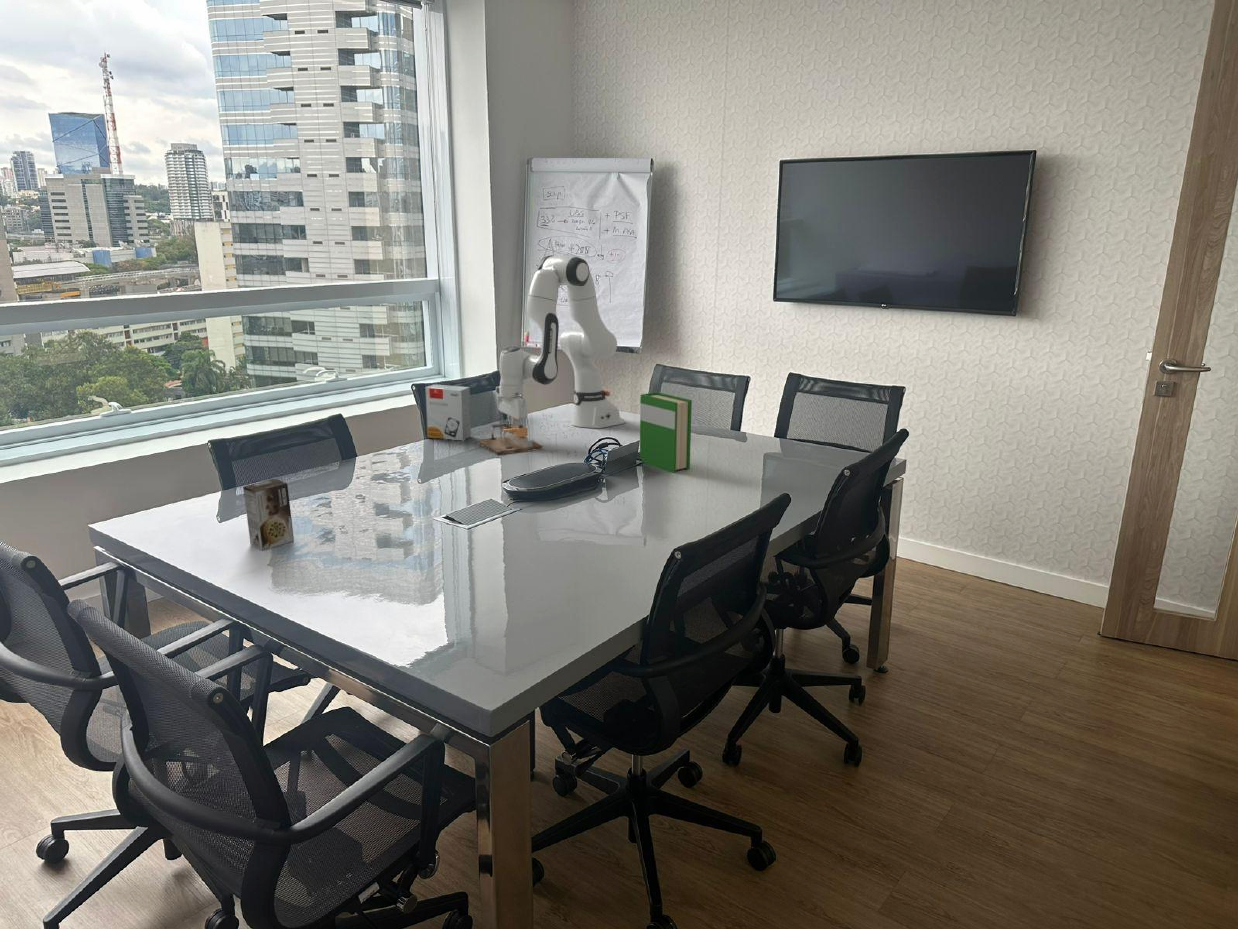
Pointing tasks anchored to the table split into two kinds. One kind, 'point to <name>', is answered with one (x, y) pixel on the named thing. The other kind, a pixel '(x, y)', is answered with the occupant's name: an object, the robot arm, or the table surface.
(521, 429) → the sliding head
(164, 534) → the table surface
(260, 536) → the cookie box
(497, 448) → the hole board
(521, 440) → the trammel beam
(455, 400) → the hard drive box
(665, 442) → the hardback book
